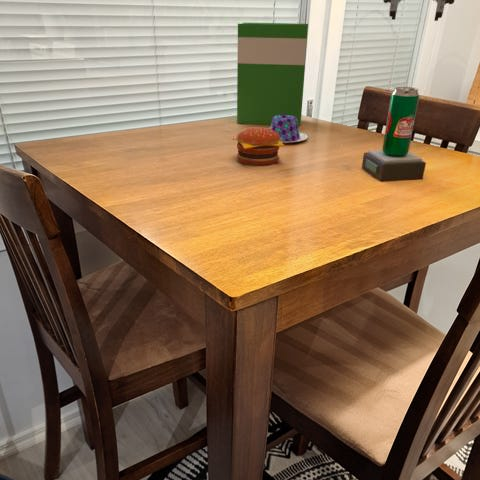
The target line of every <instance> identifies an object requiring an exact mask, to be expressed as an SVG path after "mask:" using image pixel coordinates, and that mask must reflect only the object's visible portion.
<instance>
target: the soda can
mask: <svg viewBox="0 0 480 480" xmlns="http://www.w3.org/2000/svg"><path fill="white" fill-rule="evenodd" d="M419 99H420V94H419V88H418V87H413V86H412V87H411V86H396V87H394V89H393V91H392V92H391V95H390V99H389V100H390V101H389V106H388V113H387V118H386V125H385V131H384V136H383V141H382V142H383V144H382V149H381V150H382V151H383V153H384V154H385V155H387V156H392V157H403V156H405V155H406V154H407V153H408V152H410V147H411V143H412V136H413V131H414V125H415V120H416V115H417V109H418V105H419Z"/></svg>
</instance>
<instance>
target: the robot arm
mask: <svg viewBox="0 0 480 480" xmlns="http://www.w3.org/2000/svg"><path fill="white" fill-rule="evenodd" d="M402 1H403V0H383V3H384V4H388V3H389V4H390V5H389V11H388V12H389V13H388V16H389V17H390V18H391V20H393V21H395V20H396V17H397V12H398V6H399V4H400V2H402ZM432 1H433V2H435V3H436V9H435V15H434V22H436V21H437V22H438V21H439V19H442V17H443V14H444V11H445V5H446V4H448V5H453V4H454V3H455V0H432Z"/></svg>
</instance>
